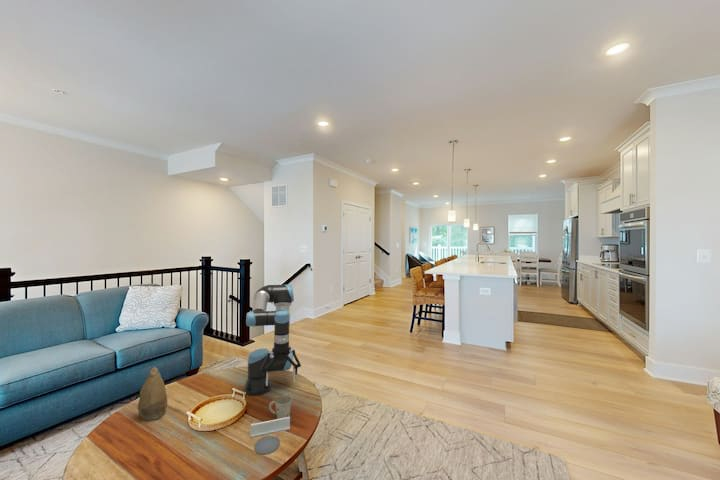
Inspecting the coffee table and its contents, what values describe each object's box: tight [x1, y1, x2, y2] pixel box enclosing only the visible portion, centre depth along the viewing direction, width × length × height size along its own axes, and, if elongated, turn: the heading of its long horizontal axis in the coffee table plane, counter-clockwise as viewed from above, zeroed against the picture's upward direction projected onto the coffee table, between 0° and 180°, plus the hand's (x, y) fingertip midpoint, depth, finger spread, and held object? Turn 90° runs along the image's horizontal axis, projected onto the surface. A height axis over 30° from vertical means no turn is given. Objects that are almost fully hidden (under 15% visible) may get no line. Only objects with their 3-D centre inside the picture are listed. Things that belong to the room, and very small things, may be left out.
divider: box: [250, 416, 291, 439], centre depth 136 cm, size 3×18×5 cm, turn 111°
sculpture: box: [137, 366, 168, 421], centre depth 145 cm, size 12×11×25 cm
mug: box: [268, 394, 293, 419], centre depth 146 cm, size 8×13×10 cm, turn 78°
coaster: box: [253, 435, 281, 456], centre depth 127 cm, size 11×11×1 cm
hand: (280, 382), depth 146 cm, fingers open, 13 cm apart
